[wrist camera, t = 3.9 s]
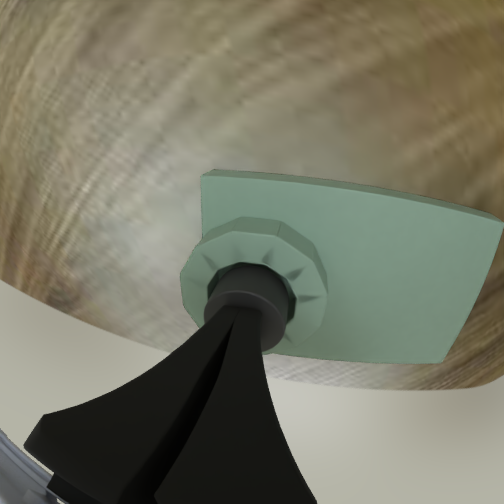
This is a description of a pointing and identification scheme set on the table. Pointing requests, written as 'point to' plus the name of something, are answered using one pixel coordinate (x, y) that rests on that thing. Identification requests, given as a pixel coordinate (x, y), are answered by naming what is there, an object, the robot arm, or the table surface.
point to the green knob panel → (346, 262)
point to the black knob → (253, 300)
